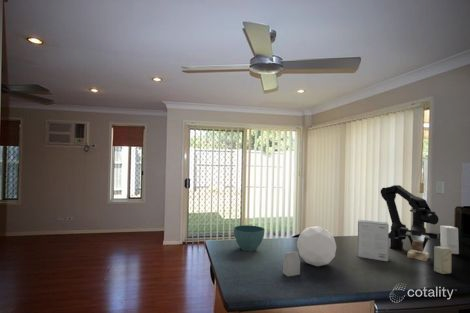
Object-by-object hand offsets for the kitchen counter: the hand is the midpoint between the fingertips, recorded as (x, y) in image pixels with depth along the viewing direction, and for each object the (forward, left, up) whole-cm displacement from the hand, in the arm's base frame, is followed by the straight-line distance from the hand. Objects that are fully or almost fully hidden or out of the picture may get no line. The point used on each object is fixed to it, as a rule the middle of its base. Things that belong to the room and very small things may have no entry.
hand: (418, 248), depth 160 cm
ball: (-36, -55, -6) cm, 66 cm away
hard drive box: (-18, -21, -6) cm, 28 cm away
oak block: (0, 0, -6) cm, 6 cm away
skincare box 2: (+13, -18, -6) cm, 23 cm away
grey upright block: (-38, -76, -6) cm, 85 cm away
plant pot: (-75, -62, -6) cm, 97 cm away
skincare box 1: (+12, +28, -6) cm, 31 cm away
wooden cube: (0, 0, -1) cm, 1 cm away
